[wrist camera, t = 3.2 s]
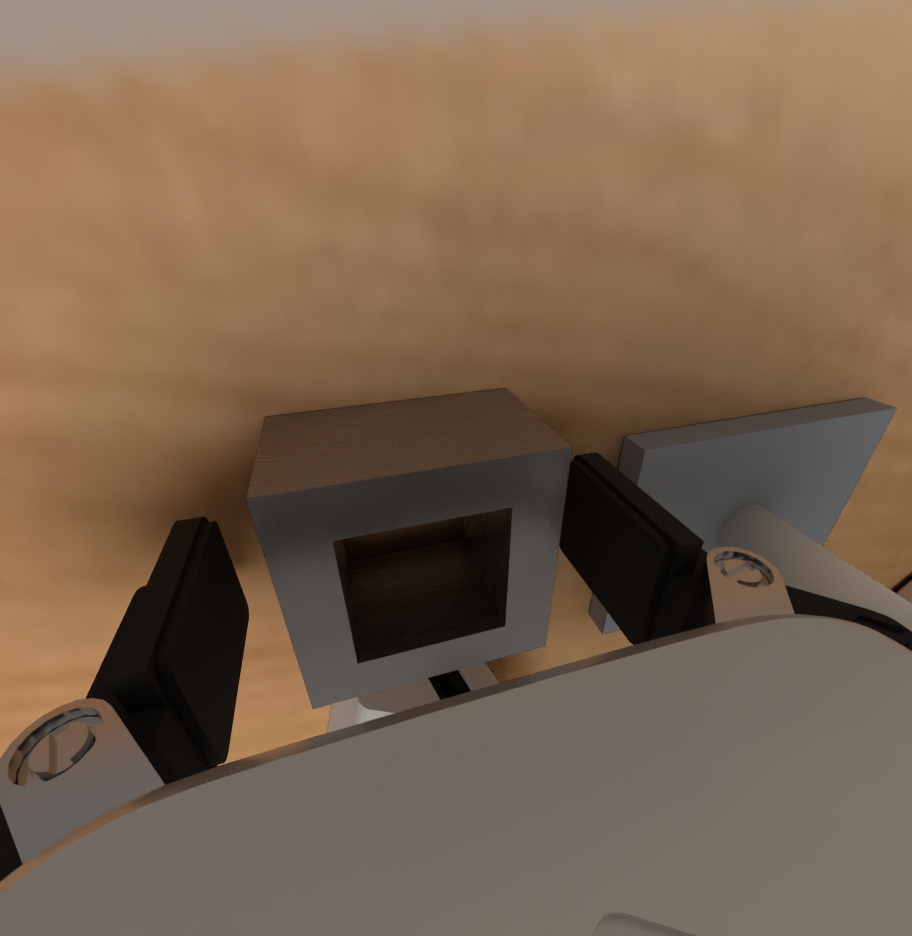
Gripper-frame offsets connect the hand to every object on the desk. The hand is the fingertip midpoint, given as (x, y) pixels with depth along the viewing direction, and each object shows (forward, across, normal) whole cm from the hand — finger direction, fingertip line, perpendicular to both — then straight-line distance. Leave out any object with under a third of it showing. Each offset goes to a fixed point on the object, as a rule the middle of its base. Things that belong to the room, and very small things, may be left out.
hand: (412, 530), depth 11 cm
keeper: (+1, -12, +3) cm, 12 cm away
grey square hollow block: (+1, 0, 0) cm, 1 cm away
